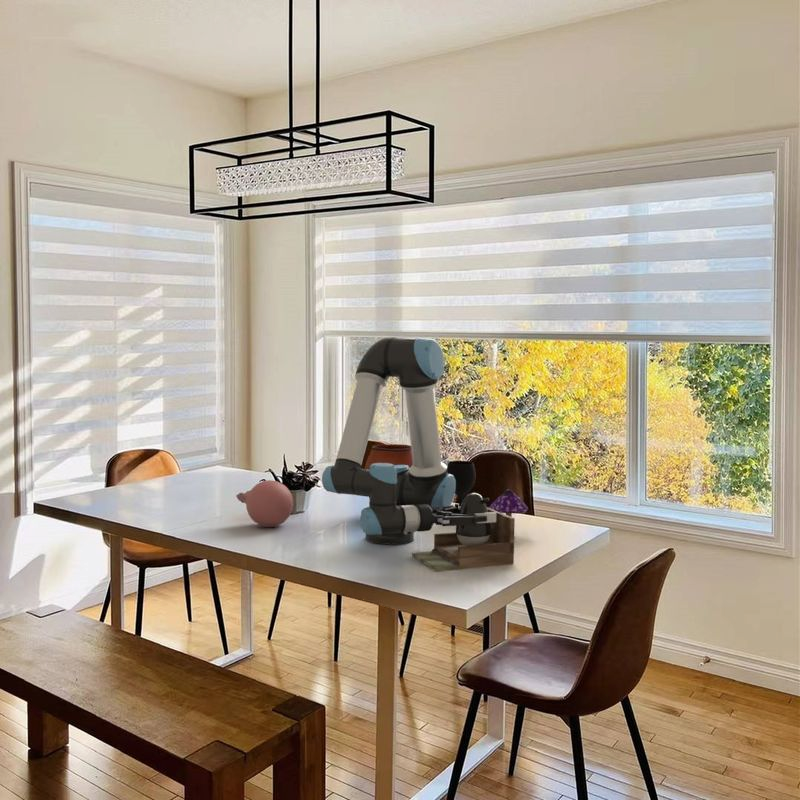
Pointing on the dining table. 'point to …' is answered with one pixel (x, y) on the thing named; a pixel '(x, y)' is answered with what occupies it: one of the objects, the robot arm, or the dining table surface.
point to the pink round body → (268, 503)
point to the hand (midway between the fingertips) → (487, 513)
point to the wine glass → (462, 477)
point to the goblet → (390, 455)
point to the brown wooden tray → (472, 548)
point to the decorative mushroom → (509, 504)
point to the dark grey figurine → (482, 530)
